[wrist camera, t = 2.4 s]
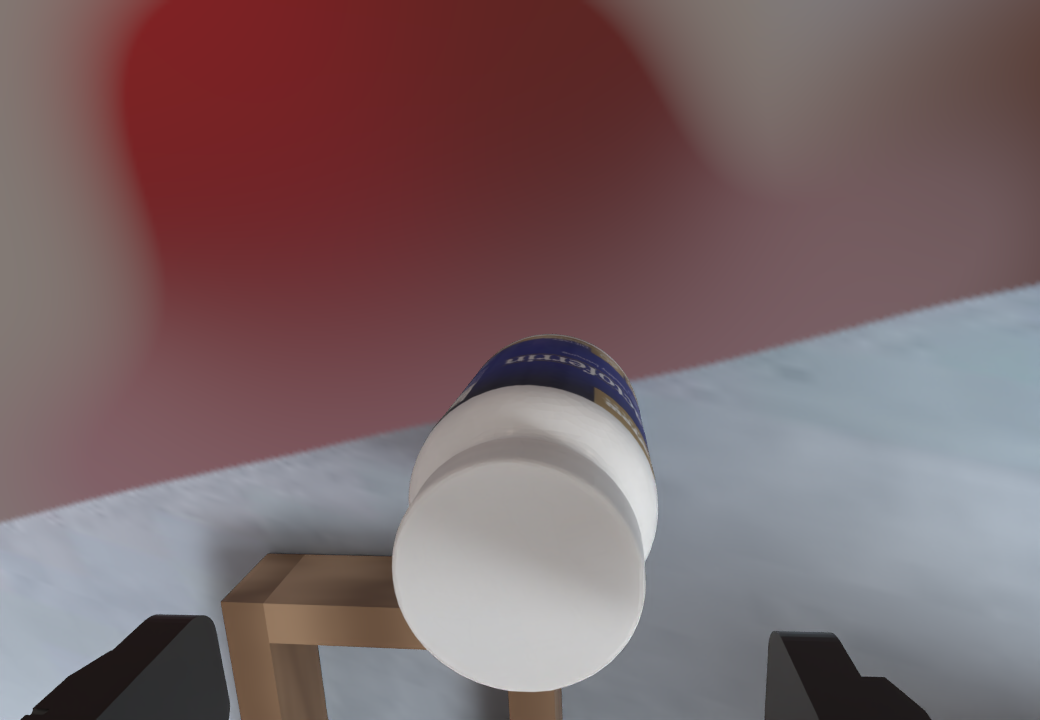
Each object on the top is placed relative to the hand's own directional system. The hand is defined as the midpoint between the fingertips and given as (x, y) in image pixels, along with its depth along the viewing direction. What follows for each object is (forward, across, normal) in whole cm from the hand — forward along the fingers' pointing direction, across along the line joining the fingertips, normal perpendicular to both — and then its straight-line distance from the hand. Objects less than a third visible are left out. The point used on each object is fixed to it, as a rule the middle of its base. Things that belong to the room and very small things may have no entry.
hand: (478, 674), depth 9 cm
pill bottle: (+12, 0, 0) cm, 12 cm away
